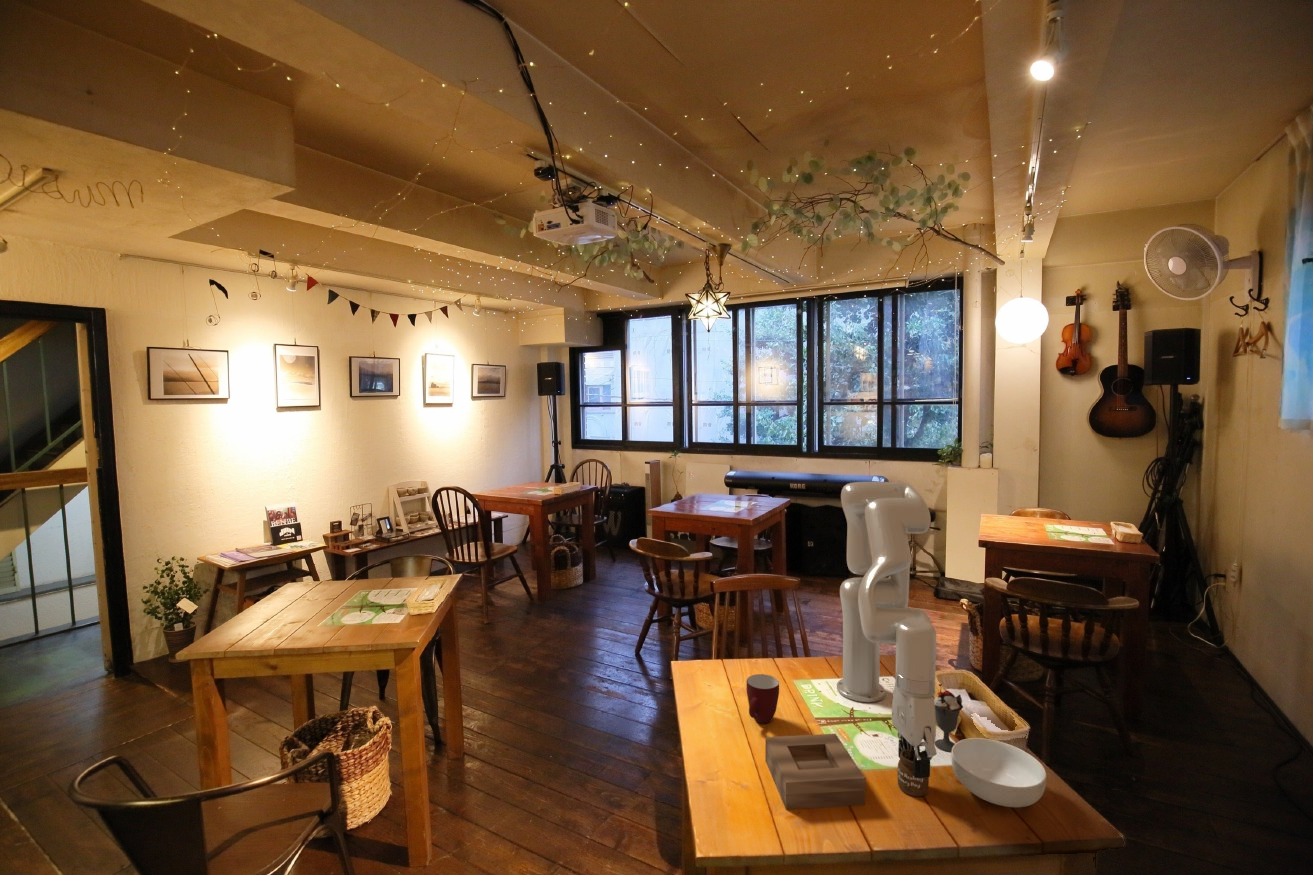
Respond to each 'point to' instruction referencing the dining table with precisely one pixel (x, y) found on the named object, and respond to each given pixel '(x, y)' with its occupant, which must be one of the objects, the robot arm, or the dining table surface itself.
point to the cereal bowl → (998, 772)
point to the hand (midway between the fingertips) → (913, 766)
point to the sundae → (947, 716)
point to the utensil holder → (910, 774)
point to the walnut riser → (814, 771)
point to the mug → (762, 697)
